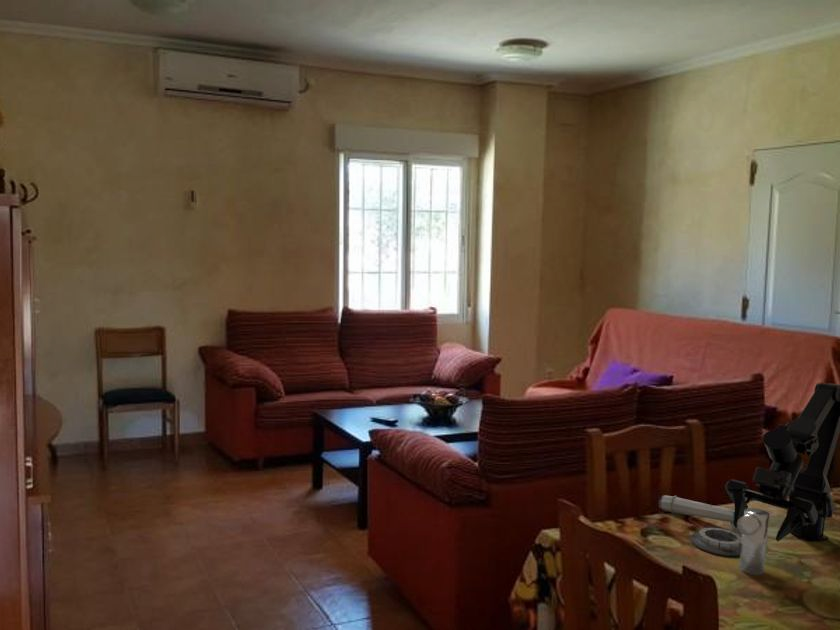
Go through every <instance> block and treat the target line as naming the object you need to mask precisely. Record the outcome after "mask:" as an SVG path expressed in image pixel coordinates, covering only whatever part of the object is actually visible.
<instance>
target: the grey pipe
mask: <svg viewBox="0 0 840 630" xmlns="http://www.w3.org/2000/svg"><path fill="white" fill-rule="evenodd" d="M658 507H659V509H660V510H661V511H665V512H668V513H669V512H670V513H672V514H682V515H686V516H693V517H697V518H698V517H699V518H705V519H709V520H710V519H711V520H716V521H720V522H721V521H722V522H727V523H730V527H731V528H732V531H733V532H735V533H737V534H739V535H740V536H741V537H742V533H741V532H740V530H739V529H738V527H737V528H735V527H734V511H735V509H731V508H728V507H727V508H726V507H722V506H717V505H715V504H714V505H712V504H708V503H704V502H700V501H696V500H695V501H694V500H691V499H686V498H681V497H678V496H677V495H674V496H671V495H666V494H663V495H661V496H660V497H659V500H658Z"/></svg>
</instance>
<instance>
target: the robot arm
mask: <svg viewBox="0 0 840 630" xmlns="http://www.w3.org/2000/svg"><path fill="white" fill-rule="evenodd" d="M806 403H807V404H806V405H805V407H804V408H803V410H802V411H801V413H800V415H799V416H798V417H797V418H795V419H793V420H790V421H788V422H787V423H786V424H785V425H784V424H778V426H777V427H776V428H771V429H769V430H768V431H767V432H765V433H764V435H763V443H764V445H765V447H766V451H767V453H768V457H769V458H770V459H771V461H772V464H771V465H770V468H763V467H755V470H754V474H753V476H752V482H753V483H754V482H755V483H756V484H755V486H756V489H757V490H759V491H755V490H751V489H750V487H749V485H748V483H747V482H746V481H741V480H737V479H733V478H732V479H729V480H728V481H726V484H725V486H724V488H725V490H726V493H727V494H728V497H729V499H730V500H731V501H732V502H733V504H734V510H735V511H734V527H735V528H737V527H738V526H737V522H738V520H739V518H741V517H743V516H744V510H745V509H747V508H749V506H748V504H749V503H750V502H751V500H752V501H756V502H760V503H763V504H765V505H770V506H773V507H776V508H779V509H783V510H787V511H786V515H785V518H784V520H783V522H782V523H781V525H780V528H779V529H778V531H777V533H776V536H775V541H776V542H780V541H781V540H782V539H784V538H785V537H787V536H788V535H789V534H792V535H794V536H796V537H798V538H801V539H802V540H805V541H807V542H817V541H824V540H825V541H826V540H829V536H827V535H826V534H824V531H825V522H826V519H827V518H829V519H830V518H831V519H832V518H833V517H834V516H833V514H834V511H835V509H834V508H835V504H834V502H833V499H832V496H831V490H832V489H831V487H830V484H829V480H828V478H827V477H828V473H829V470H830V467H831V462H832V459H833V456H834V453H835V449H836V446H837V443H838V439H839V436H840V384H837V383H831V382H827V383H826V382H818V383H817V384H815V387H814V392H813V394H812V396H811V397H810V398H809V400H808V402H806ZM801 455H804V456H809V458H808V462H807V465H806V468H805V469H804V466H803V465H804V461H803V459H802V457H801ZM803 469H804V470H803Z"/></svg>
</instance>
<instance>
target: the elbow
mask: <svg viewBox="0 0 840 630" xmlns="http://www.w3.org/2000/svg"><path fill="white" fill-rule="evenodd" d="M769 522H770V513H769V512H768V511H766V510H764V509H760V508H754V507H748V508H747V509H745V510H744V516H743V517H741V518H739V520H738V522H737V526H738V529H739V530H740V532H741V533H742V540H741V550H740V556H739V562H738V563H739V564H738V570H739V571H740V572H743V573H745V574H747V575H750V576H751V575H753V576H762V575H764V574H765V572H764V571H765V564H766V554H767V541H768V533H769V524H770V523H769Z"/></svg>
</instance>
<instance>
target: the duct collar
mask: <svg viewBox="0 0 840 630" xmlns="http://www.w3.org/2000/svg"><path fill="white" fill-rule="evenodd" d="M741 540H742V537H741V536H740V535H739V534H737V533H735V532H733V530H728V529H725V528H722V527H721V528H720V527H704V528H701V530H699V531H696V532H693V533H692V534H691V536H690V543H691V544H692V545H693V546H695V547H696V548H697V549H699V550H701V551H703V552H706V553H709V554H712V555H716V556H722V557H729V558H730V557H733V558H735V557H739V558H740V550H741Z"/></svg>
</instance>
